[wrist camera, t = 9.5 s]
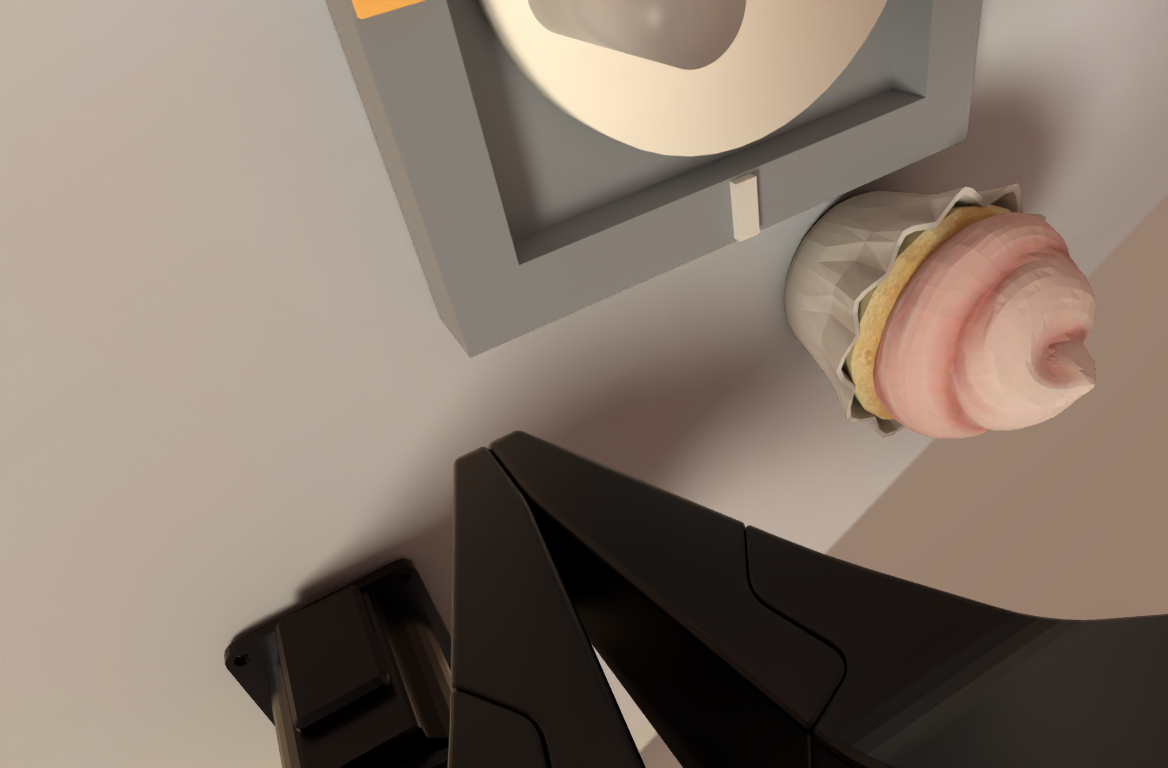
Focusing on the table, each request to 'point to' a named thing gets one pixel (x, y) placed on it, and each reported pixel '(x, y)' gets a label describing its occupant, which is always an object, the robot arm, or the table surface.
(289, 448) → the table surface
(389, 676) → the robot arm
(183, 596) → the table surface
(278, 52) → the table surface
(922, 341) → the cupcake
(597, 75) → the dial
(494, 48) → the dial panel
